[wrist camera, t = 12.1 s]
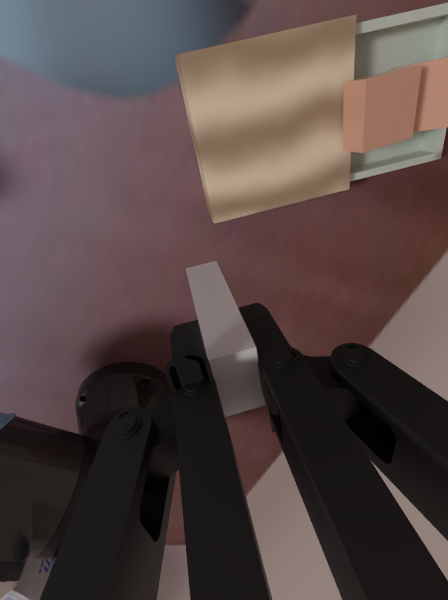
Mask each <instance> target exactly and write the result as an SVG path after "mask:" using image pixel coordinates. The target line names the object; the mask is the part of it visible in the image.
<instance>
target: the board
mask: <svg viewBox="0 0 448 600" xmlns="http://www.w3.org/2000/svg"><path fill="white" fill-rule="evenodd" d="M355 35H356V15H352V16H348V17H343V18H339V19H334V20H330V21H325V22H321V23H316V24H312V25H307V26H303V27H298V28H294V29H289V30H285V31H280V32H276V33H271V34H267V35H262V36H258V37H254V38H249V39H245V40H240V41H236V42H231V43H227V44H222V45H218V46H213V47H209V48H204V49H200V50H196V51H191V52H186V53H182V54H178V55H177V57H176V60H175V62H176V67H177V71H178V76H179V80H180V85H181V89H182V94H183V98H184V103H185V107H186V112H187V116H188V121H189V125H190V130H191V134H192V139H193V143H194V148H195V152H196V157H197V161H198V166H199V170H200V175H201V179H202V184H203V189H204V193H205V198H206V202H207V207H208V211H209V214H210V216H211V218H212V220H213V222H214V223H218V222H222V221H226V220H230V219H234V218H238V217H242V216H246V215H250V214H253V213H257V212H261V211H265V210H269V209H273V208H277V207H281V206H285V205H289V204H293V203H297V202H301V201H305V200H308V199H312V198H316V197H320V196H324V195H328V194H332V193H336V192H340V191H344V190H348V189H349V186H350V161H351V152H350V151H343V98H344V82H347V81H351V80H354V60H355Z"/></svg>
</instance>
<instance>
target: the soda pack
mask: <svg viewBox="0 0 448 600" xmlns="http://www.w3.org/2000/svg"><path fill="white" fill-rule="evenodd" d="M50 562H51V560H49V559H41V558H28V559H27V561H26V563H25V566H24V569H23V571H22V574H21V577H20V579H19V582H18V584H17V586H15V587H14V588H13V589H12V590H11V591H9V592H8V593H7V594H6V595H4V596H3V597H2V598H1V599H0V600H40V597H41V595H42V592H43V590H44V587H45V584H46V582H47V579H48V577H49V572H48V566H49V564H50Z"/></svg>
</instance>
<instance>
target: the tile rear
mask: <svg viewBox="0 0 448 600" xmlns="http://www.w3.org/2000/svg"><path fill="white" fill-rule="evenodd" d="M421 64H422V69H421V76H420V84H419V91H418V99H417V106H416V114H415V121H414V129H413V132H419V131H425V130H432V129H439V128H446V127H448V56H447V57H442V58H437V59H432V60H428V61H423V62H418V63H413V64H409V65H404V66H399V67H394V68H391V70H393V69H398V68H403V67H409V66H415V65H421Z"/></svg>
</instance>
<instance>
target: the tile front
mask: <svg viewBox="0 0 448 600" xmlns="http://www.w3.org/2000/svg"><path fill="white" fill-rule="evenodd" d="M421 69H422V64H421V65H415V66H409V67H403V68H398V69H393V70H389V71H386V72H382V73H378V74H374V75H370V76H366V77H362V78H359V79H355V80H351V81H347V82H344V98H343V151H350V152H358V153H364V152H367V151H371V150H374V149H377V148H380V147H383V146H387V145H390V144H393V143H396V142H400V141H403V140H406V139H409V138H412V137H413V129H414V121H415V114H416V106H417V99H418V91H419V84H420V76H421Z"/></svg>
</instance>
